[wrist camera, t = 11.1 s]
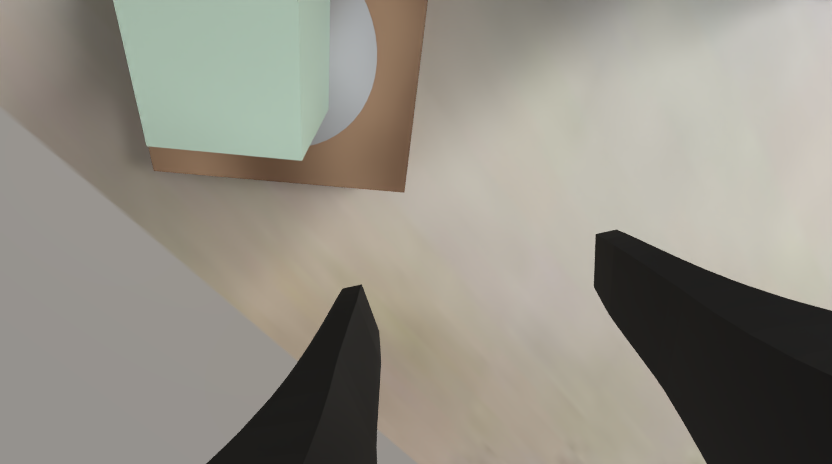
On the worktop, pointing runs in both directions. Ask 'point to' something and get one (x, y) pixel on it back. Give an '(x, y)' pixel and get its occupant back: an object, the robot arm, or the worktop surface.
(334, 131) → the walnut base
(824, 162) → the worktop surface
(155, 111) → the sage block
